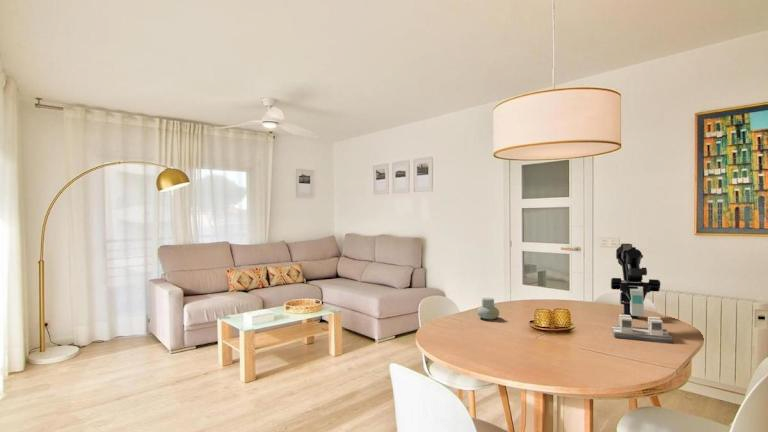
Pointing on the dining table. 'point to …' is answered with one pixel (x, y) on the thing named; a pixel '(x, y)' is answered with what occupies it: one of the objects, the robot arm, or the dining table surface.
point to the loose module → (636, 302)
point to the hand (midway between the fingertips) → (636, 300)
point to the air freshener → (488, 309)
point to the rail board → (641, 330)
